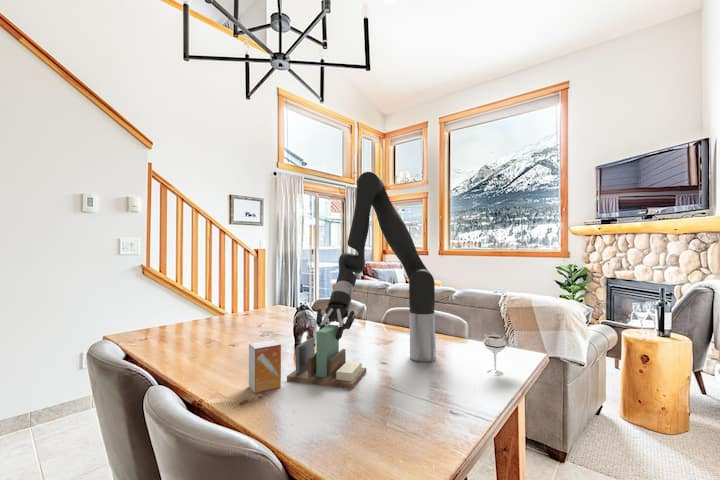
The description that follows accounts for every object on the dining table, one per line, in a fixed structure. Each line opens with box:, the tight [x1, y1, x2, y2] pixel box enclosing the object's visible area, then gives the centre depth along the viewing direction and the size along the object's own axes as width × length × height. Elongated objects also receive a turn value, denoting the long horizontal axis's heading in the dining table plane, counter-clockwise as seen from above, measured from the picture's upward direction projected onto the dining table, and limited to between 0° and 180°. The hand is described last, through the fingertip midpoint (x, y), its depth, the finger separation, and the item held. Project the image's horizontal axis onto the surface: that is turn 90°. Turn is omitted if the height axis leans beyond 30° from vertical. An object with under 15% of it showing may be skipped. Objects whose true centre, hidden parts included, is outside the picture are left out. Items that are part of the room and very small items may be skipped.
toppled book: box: [336, 360, 363, 381], centre depth 109 cm, size 5×10×2 cm, turn 162°
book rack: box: [286, 348, 367, 390], centre depth 111 cm, size 22×14×8 cm, turn 72°
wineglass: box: [483, 333, 507, 376], centre depth 113 cm, size 7×7×12 cm
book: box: [315, 324, 340, 378], centre depth 112 cm, size 4×10×14 cm, turn 161°
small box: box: [248, 339, 282, 394], centre depth 104 cm, size 8×6×13 cm
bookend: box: [295, 337, 315, 376], centre depth 114 cm, size 1×11×9 cm, turn 162°
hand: (328, 337), depth 113 cm, fingers open, 5 cm apart
